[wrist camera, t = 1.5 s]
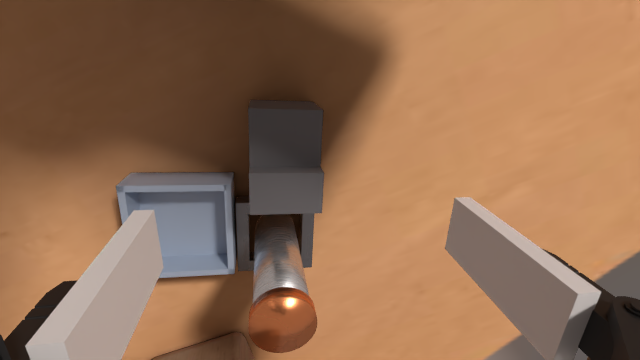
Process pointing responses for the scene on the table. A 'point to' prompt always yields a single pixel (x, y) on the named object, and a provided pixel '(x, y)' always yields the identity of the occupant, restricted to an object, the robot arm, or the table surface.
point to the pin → (279, 288)
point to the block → (214, 350)
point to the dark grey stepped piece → (285, 157)
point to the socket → (244, 236)
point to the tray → (187, 218)
